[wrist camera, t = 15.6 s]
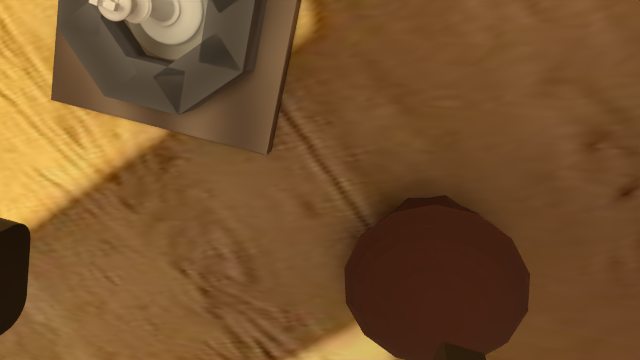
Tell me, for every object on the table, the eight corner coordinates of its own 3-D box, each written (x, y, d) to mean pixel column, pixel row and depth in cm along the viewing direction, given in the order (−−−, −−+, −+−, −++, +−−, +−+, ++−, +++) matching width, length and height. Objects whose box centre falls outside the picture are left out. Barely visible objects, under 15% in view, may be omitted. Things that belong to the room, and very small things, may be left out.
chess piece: (151, -41, 37) (62, -68, 27) (216, -12, 36) (150, -28, 27) (131, 28, 38) (39, 26, 28) (193, 57, 38) (123, 64, 28)
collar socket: (319, -92, 36) (308, -110, 31) (271, 150, 41) (255, 164, 36) (82, -143, 37) (40, -166, 33) (63, 97, 42) (24, 104, 38)
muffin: (530, 199, 39) (571, 253, 29) (488, 331, 42) (513, 419, 32) (368, 164, 40) (356, 204, 30) (339, 295, 43) (321, 370, 33)
